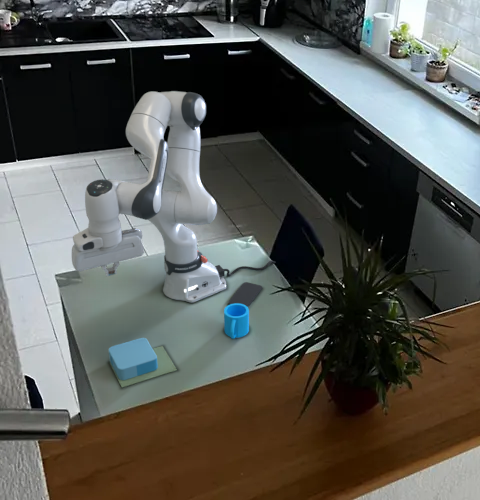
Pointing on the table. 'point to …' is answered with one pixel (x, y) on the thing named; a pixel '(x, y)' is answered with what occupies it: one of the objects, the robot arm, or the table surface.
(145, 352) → the data package
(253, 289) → the phone
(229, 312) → the mug
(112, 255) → the robot arm
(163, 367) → the mat
